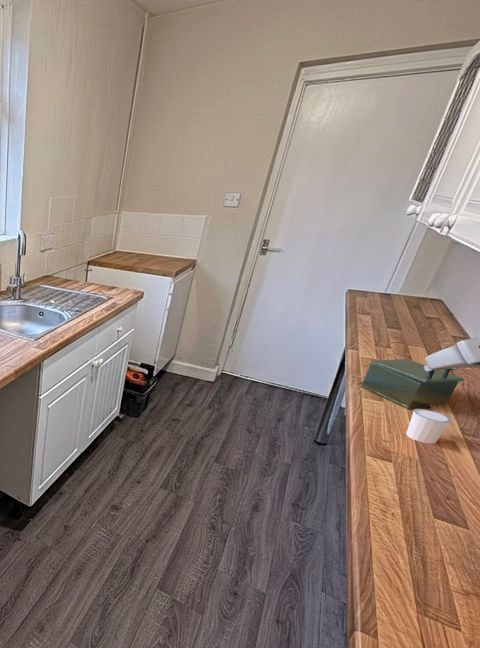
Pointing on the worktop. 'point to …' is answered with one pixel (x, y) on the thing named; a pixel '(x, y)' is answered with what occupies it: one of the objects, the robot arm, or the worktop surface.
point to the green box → (406, 388)
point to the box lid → (417, 371)
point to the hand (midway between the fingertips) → (437, 368)
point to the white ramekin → (427, 426)
